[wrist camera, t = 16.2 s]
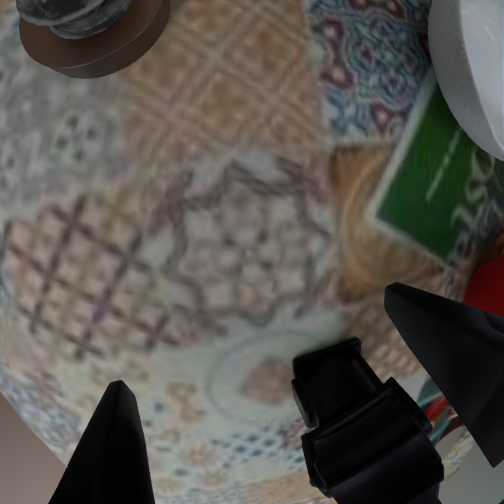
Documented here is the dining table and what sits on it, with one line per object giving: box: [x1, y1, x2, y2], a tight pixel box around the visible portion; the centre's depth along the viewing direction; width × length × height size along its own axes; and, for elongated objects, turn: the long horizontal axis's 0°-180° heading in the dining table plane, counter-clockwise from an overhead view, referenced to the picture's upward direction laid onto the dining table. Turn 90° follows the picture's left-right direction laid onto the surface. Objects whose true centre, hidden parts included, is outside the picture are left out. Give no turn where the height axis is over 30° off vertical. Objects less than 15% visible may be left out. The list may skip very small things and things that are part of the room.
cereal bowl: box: [428, 0, 504, 161], centre depth 16 cm, size 17×17×7 cm
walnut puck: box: [19, 0, 170, 78], centre depth 12 cm, size 9×9×4 cm
